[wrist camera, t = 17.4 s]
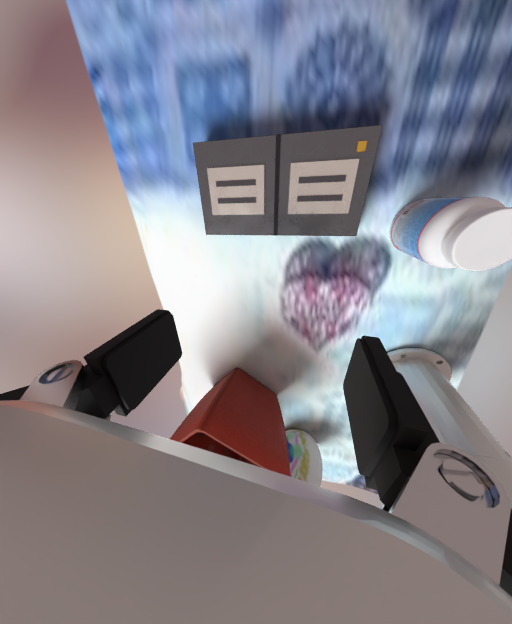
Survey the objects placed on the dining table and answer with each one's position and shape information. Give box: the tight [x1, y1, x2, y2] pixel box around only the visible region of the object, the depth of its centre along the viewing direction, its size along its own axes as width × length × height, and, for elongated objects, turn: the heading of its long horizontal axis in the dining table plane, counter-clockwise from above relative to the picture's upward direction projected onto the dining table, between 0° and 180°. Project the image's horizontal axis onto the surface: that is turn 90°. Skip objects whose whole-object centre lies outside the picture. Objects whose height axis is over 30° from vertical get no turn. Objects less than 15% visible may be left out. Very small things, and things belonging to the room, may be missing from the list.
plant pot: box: [170, 368, 291, 477], centre depth 41 cm, size 19×19×17 cm
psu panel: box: [193, 125, 382, 236], centre depth 24 cm, size 20×10×3 cm, turn 91°
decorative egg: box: [285, 429, 322, 486], centre depth 47 cm, size 12×12×15 cm
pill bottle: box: [390, 197, 512, 271], centre depth 19 cm, size 6×6×11 cm
